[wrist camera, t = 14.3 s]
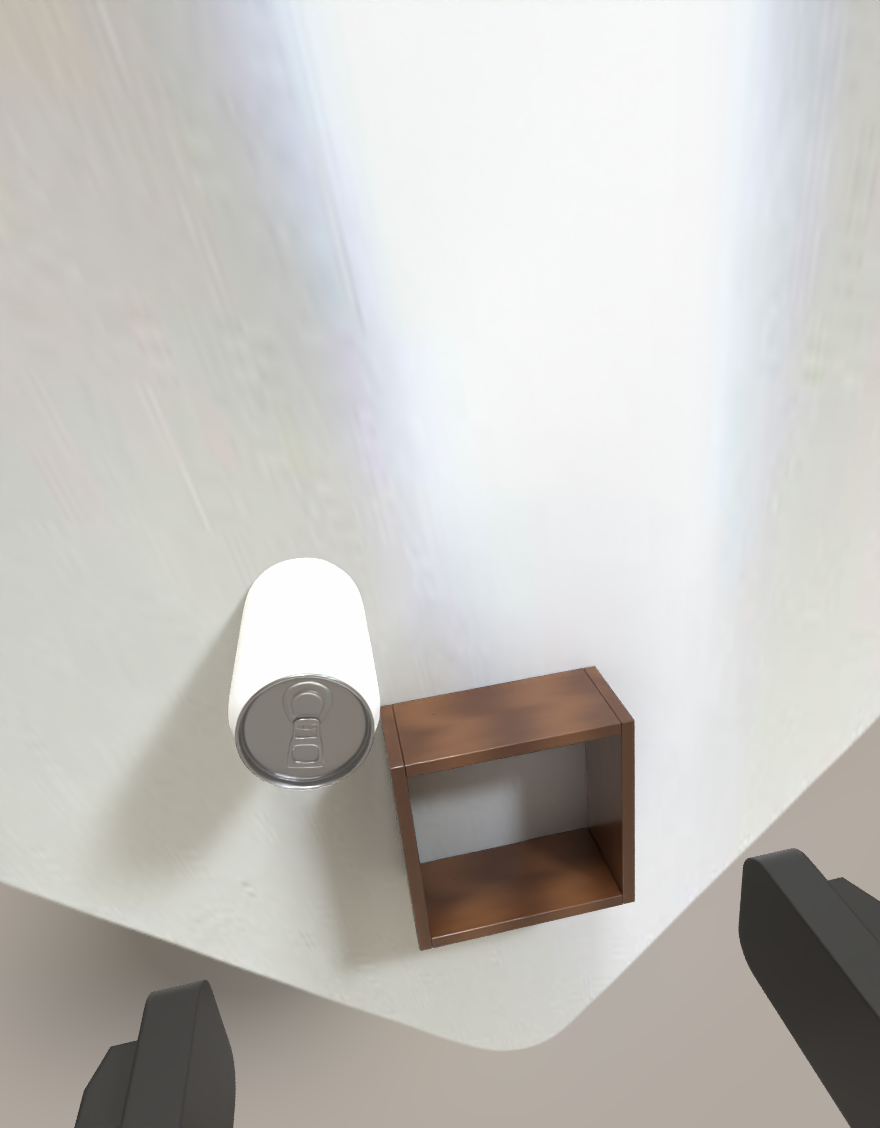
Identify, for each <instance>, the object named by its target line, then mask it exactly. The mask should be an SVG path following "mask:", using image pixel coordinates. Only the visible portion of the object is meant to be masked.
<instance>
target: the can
mask: <svg viewBox="0 0 880 1128" xmlns="http://www.w3.org/2000/svg"><path fill="white" fill-rule="evenodd" d="M228 716H229V725H230V729H231V732H232V735H233V737H234V739H235V742H236V747H237V751H238V753H239V756H240V758H241V759H242V761H243V763H244V764H245V765H246V767H247V768H248V769H249V770H250V771H251V772H252V773H253V774H254V775H256V776H257V777H258V778H260V779H261V780H263V781H265V782H267V783H269V784H271V785H274V786H276V787H280V788H284V789H289V790H313V789H318V788H323V787H326V786H329V785H332V784H334V783H336V782H338V781H340V780H342V779H344V778H345V777H347V776H348V775H350V774H351V773H352V772H354V771H355V770H356V769H357V768H358V767H359V766H360V765H361V763H362V762H363V761H364V759H365V758H366V756H367V755H368V753H369V751H370V749H371V746H372V743H373V739H374V733H375V730H376V728H377V725H378V721H379V716H380V697H379V689H378V683H377V677H376V672H375V666H374V660H373V655H372V650H371V644H370V639H369V633H368V628H367V623H366V618H365V612H364V607H363V603H362V599H361V596H360V593H359V591H358V588H357V587H356V585H355V583H354V582H353V580H352V579H351V578H350V577H349V576H348V575H347V574H346V573H345V572H344V571H342V570H341V569H340V568H338V567H337V566H335V565H333V564H331V563H329V562H326V561H324V560H320V559H315V558H299V559H292V560H287V561H284V562H281V563H278V564H276V565H274V566H272V567H270V568H269V569H267V570H266V571H265V572H264V573H262V574H261V575H260V576H259V577H258V578H257V579H256V581H255V582H254V583H253V585H252V586H251V588H250V590H249V592H248V595H247V598H246V601H245V605H244V611H243V616H242V622H241V628H240V634H239V640H238V646H237V652H236V658H235V664H234V670H233V677H232V683H231V690H230V697H229V707H228Z"/></svg>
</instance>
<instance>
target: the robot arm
mask: <svg viewBox="0 0 880 1128" xmlns="http://www.w3.org/2000/svg"><path fill="white" fill-rule="evenodd" d="M739 938H740V943H741V946H742V950H743V953H744V956H745V959H746V961H747V963H748V965H749V967H750V969H751V971H752V973H753V975H754V976H755V978H756V980H757V981H758V983H759V984H760V986H761V987H762V989H763V991H764V992H765V994H766V995H767V997H768V998H769V1000H770V1001H771V1003H772V1005H773V1006H774V1008H775V1009H776V1011H777V1013H778V1014H779V1015H780V1017H781V1019H782V1020H783V1022H784V1023H785V1025H786V1027H787V1028H788V1030H789V1031H790V1033H791V1034H792V1036H793V1038H794V1039H795V1041H796V1042H797V1044H798V1046H799V1047H800V1049H801V1050H802V1052H803V1053H804V1055H805V1056H806V1058H807V1060H808V1061H809V1063H810V1064H811V1066H812V1067H813V1069H814V1071H815V1072H816V1074H817V1075H818V1077H819V1078H820V1080H821V1082H822V1083H823V1085H824V1086H825V1088H826V1090H827V1091H828V1093H829V1094H830V1096H831V1097H832V1099H833V1100H834V1102H835V1104H836V1105H837V1107H838V1108H839V1110H840V1111H841V1113H842V1115H843V1116H844V1118H845V1119H846V1121H847V1122H848V1124H849V1125H850V1127H851V1128H880V901H878V900H877V899H875V898H874V897H872V896H871V895H869V894H868V893H866V892H864V891H863V890H861V889H860V888H858V887H857V886H855V885H854V884H852V883H850V882H849V881H847V880H846V879H844V878H843V877H841V878H837V879H833V880H829V881H827V879H826V878H825V877H824V876H823V875H822V874H821V872H820V871H819V870H818V869H817V868H816V866H815V865H814V864H813V863H812V862H811V861H810V859H809V858H808V857H807V856H806V855H805V854H804V853H803V852H801V851H800V850H798V849H795V848H792V849H787V850H783V851H778V852H774V853H769V854H765V855H761V856H756V857H752V858H748V859H747V860H746V861H745V862H744V865H743V876H742V888H741V901H740V915H739ZM234 1110H235V1068H234V1061H233V1054H232V1050H231V1046H230V1043H229V1040H228V1037H227V1034H226V1031H225V1028H224V1025H223V1022H222V1019H221V1016H220V1013H219V1010H218V1007H217V1004H216V1001H215V998H214V995H213V992H212V989H211V986H210V984H209V982H208V981H207V980H202V981H198V982H193V983H189V984H185V985H180V986H176V987H171V988H167V989H163V990H158V991H154V992H152V993H150V995H149V996H148V998H147V1001H146V1004H145V1008H144V1012H143V1017H142V1022H141V1027H140V1032H139V1036H138V1040H137V1041H133V1042H129V1043H124V1044H121V1045H116V1046H112V1047H110V1049H109V1050H108V1052H107V1054H106V1055H105V1057H104V1059H103V1060H102V1062H101V1064H100V1065H99V1067H98V1068H97V1070H96V1072H95V1073H94V1075H93V1077H92V1079H91V1080H90V1082H89V1083H88V1085H87V1087H86V1088H85V1090H84V1093H83V1097H82V1101H81V1104H80V1108H79V1112H78V1116H77V1120H76V1124H75V1127H74V1128H233V1122H234Z"/></svg>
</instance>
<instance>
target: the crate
mask: <svg viewBox="0 0 880 1128" xmlns="http://www.w3.org/2000/svg"><path fill="white" fill-rule="evenodd" d="M380 717H381V724H382V730H383V736H384V742H385V748H386V754H387V760H388V766H389V772H390V778H391V784H392V790H393V796H394V802H395V809H396V815H397V821H398V827H399V833H400V839H401V845H402V851H403V857H404V863H405V869H406V875H407V881H408V887H409V893H410V898H411V904H412V910H413V916H414V921H415V927H416V933H417V938H418V944H419V950H420V951H422V950H427V949H431V948H432V947H433V948H436V947H440V946H445V945H449V944H453V943H458V942H462V941H466V940H471V939H475V938H479V937H484V936H488V935H492V934H497V933H501V932H505V931H510V930H514V929H518V928H523V927H527V926H531V925H536V924H540V923H544V922H549V921H553V920H557V919H562V918H566V917H570V916H575V915H579V914H583V913H588V912H592V911H596V910H601V909H605V908H609V907H614V906H618V905H622V904H626V903H630V902H634V901H635V749H634V719H633V718H632V716H631V715H630V714H629V712H628V711H627V709H626V708H625V707H624V705H623V704H622V703H621V701H620V700H619V698H618V697H617V696H616V694H615V693H614V692H613V690H612V689H611V688H610V686H609V685H608V683H607V682H606V681H605V679H604V678H603V677H602V675H601V674H600V672H599V671H598V670H597V668H596V667H595V666H593V667H587V668H584V669H582V668H581V669H576V670H571V671H565V672H560V673H555V674H550V675H544V676H539V677H534V678H528V679H523V680H518V681H513V682H507V683H502V684H497V685H492V686H486V687H481V688H476V689H470V690H465V691H460V692H455V693H449V694H444V695H439V696H433V697H428V698H423V699H418V700H412V701H407V702H402V703H396V704H392V705H386V706H381V707H380ZM581 742H586V766H587V796H588V826H589V829H588V828H584V829H579V830H574V831H570V832H565V833H561V834H556V835H551V836H547V837H542V838H538V839H533V840H528V841H524V842H519V843H514V844H510V845H505V846H501V847H496V848H491V849H487V850H482V851H478V852H473V853H468V854H464V855H459V856H454V857H450V858H445V859H441V860H436V861H431V862H427V863H422V864H420V862H419V855H418V849H417V842H416V836H415V829H414V823H413V816H412V810H411V803H410V797H409V790H408V784H407V777H412V776H417V775H422V774H427V773H432V772H437V771H442V770H447V769H452V768H457V767H462V766H467V765H472V764H477V763H482V762H487V761H492V760H497V759H502V758H507V757H511V756H516V755H521V754H526V753H531V752H536V751H541V750H546V749H551V748H556V747H561V746H566V745H571V744H576V743H581ZM406 776H407V777H406Z"/></svg>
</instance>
